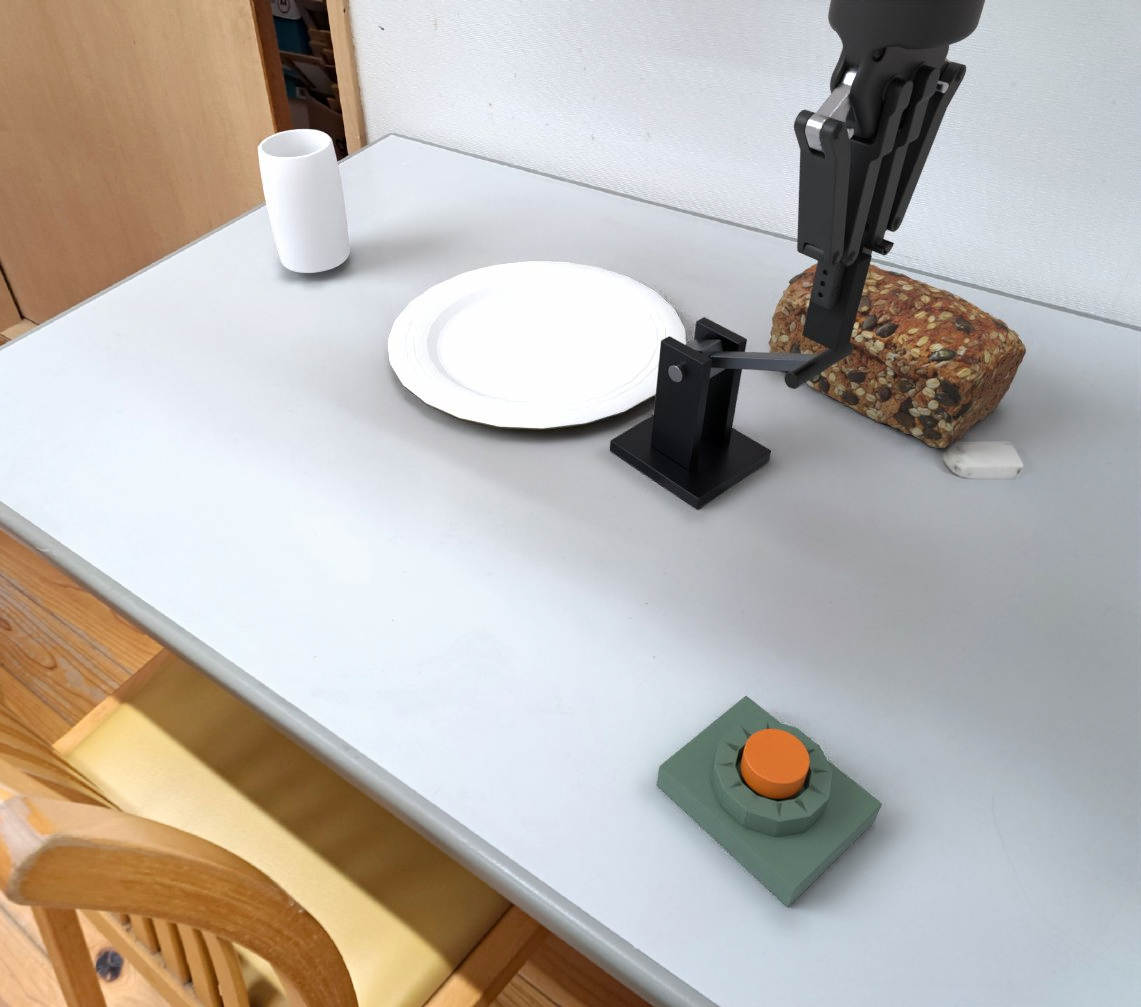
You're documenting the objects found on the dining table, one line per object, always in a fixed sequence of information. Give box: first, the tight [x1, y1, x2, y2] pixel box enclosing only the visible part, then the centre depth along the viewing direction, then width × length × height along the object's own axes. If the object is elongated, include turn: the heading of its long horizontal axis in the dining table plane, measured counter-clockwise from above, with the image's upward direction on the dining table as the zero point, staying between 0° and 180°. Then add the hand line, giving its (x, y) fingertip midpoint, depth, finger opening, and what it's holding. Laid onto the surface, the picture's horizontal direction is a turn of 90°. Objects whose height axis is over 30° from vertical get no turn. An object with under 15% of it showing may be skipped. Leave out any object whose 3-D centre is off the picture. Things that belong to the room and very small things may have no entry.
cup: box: [257, 128, 351, 274], centre depth 105 cm, size 8×8×14 cm
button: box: [741, 729, 810, 799], centre depth 55 cm, size 4×4×2 cm
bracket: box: [609, 316, 772, 510], centre depth 78 cm, size 10×9×12 cm
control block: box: [656, 695, 883, 908], centre depth 57 cm, size 10×8×4 cm
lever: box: [685, 338, 853, 390], centre depth 71 cm, size 13×6×2 cm, turn 38°
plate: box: [387, 260, 687, 431], centre depth 94 cm, size 29×29×2 cm
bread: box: [767, 263, 1027, 449], centre depth 84 cm, size 19×11×10 cm, turn 39°
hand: (825, 339), depth 65 cm, fingers closed
